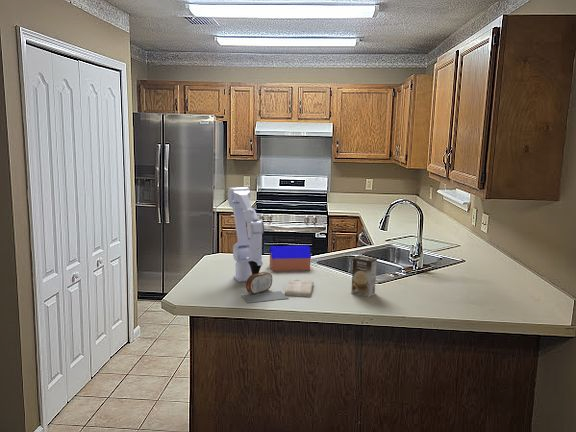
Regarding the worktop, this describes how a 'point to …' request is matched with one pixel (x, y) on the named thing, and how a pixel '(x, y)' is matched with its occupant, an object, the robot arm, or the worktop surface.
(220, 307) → the worktop surface
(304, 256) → the two-tone brick
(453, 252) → the worktop surface
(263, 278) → the tin
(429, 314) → the worktop surface
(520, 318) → the worktop surface
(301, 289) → the washcloth
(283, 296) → the mat
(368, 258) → the coffee box
